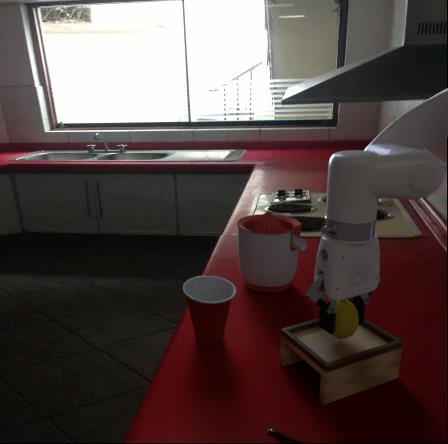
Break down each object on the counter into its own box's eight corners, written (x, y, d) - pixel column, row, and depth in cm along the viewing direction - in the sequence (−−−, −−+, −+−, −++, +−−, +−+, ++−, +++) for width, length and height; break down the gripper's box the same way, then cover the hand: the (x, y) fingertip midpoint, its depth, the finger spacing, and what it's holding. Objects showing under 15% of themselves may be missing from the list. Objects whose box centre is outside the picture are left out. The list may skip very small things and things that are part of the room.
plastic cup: (215, 360, 81) (215, 305, 77) (174, 340, 88) (171, 288, 84) (246, 335, 88) (246, 283, 84) (205, 318, 95) (204, 270, 92)
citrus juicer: (291, 306, 98) (294, 225, 92) (225, 288, 109) (225, 215, 103) (313, 280, 110) (317, 208, 104) (252, 267, 120) (253, 200, 114)
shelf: (346, 341, 84) (349, 309, 82) (398, 377, 73) (403, 341, 71) (279, 362, 79) (280, 328, 77) (324, 404, 68) (326, 366, 66)
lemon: (327, 327, 78) (330, 288, 75) (359, 335, 74) (363, 295, 72) (318, 342, 73) (321, 301, 71) (352, 351, 70) (356, 309, 68)
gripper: (322, 244, 61) (315, 349, 67) (409, 225, 67) (396, 324, 72) (290, 230, 68) (286, 326, 74) (371, 214, 74) (362, 305, 79)
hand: (340, 324), depth 73 cm, fingers closed on lemon, 5 cm apart
